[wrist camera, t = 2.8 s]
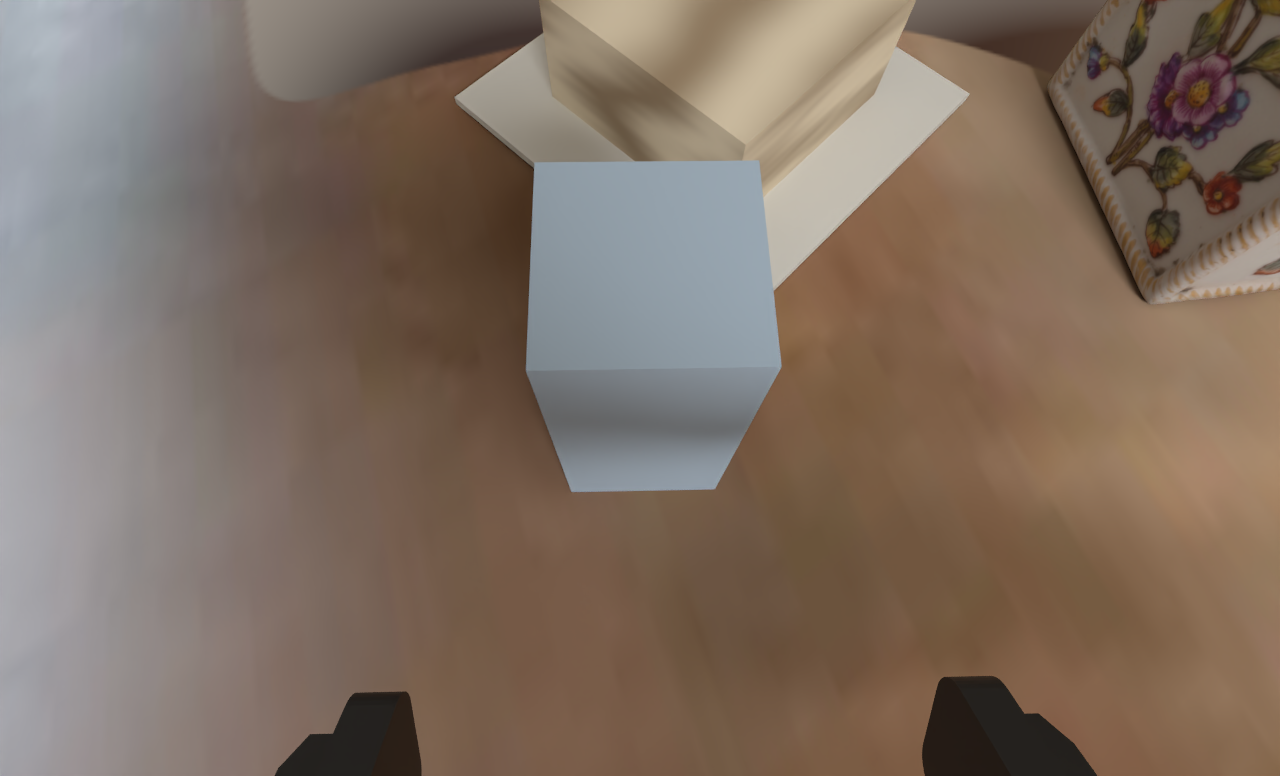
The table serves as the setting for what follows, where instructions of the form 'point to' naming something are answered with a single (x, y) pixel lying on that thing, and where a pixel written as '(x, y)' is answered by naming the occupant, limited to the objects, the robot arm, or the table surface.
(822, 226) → the pad
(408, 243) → the table surface
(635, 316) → the column block
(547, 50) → the base block
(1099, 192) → the decorative jar
